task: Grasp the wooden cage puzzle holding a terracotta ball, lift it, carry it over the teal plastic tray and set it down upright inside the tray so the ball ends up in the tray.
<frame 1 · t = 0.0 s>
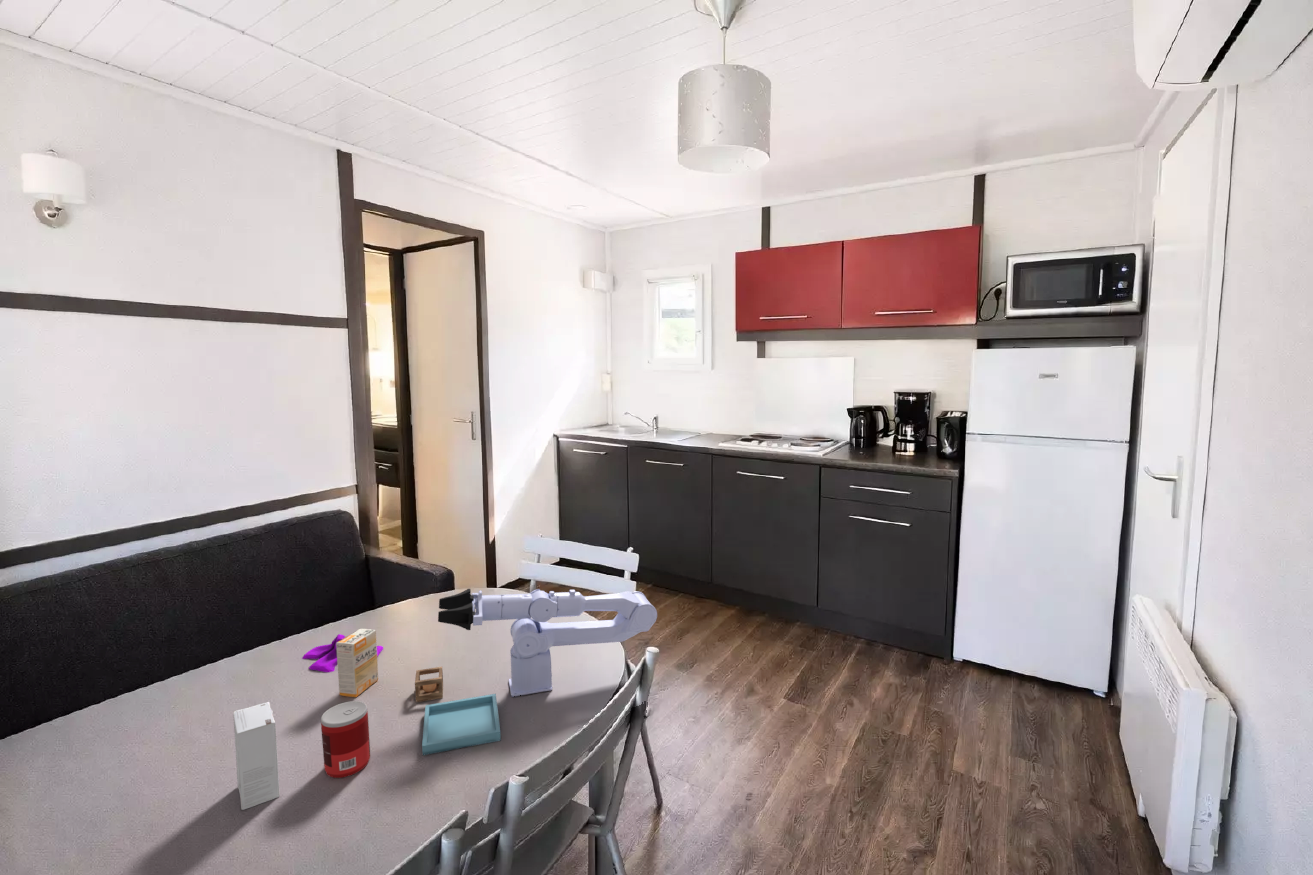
hand: (438, 609, 136), 22 cm above the table, tool horizontal, fingers open, 7 cm apart
wooden cage puzzle: (429, 694, 141), on the table, touching ball
tray: (461, 726, 128), on the table
cloth: (342, 655, 161), on the table
canned food: (348, 766, 116), on the table
supplement box: (359, 688, 144), on the table
ball: (429, 685, 141), point 2 cm above the table, touching wooden cage puzzle
skincare box: (259, 792, 109), on the table
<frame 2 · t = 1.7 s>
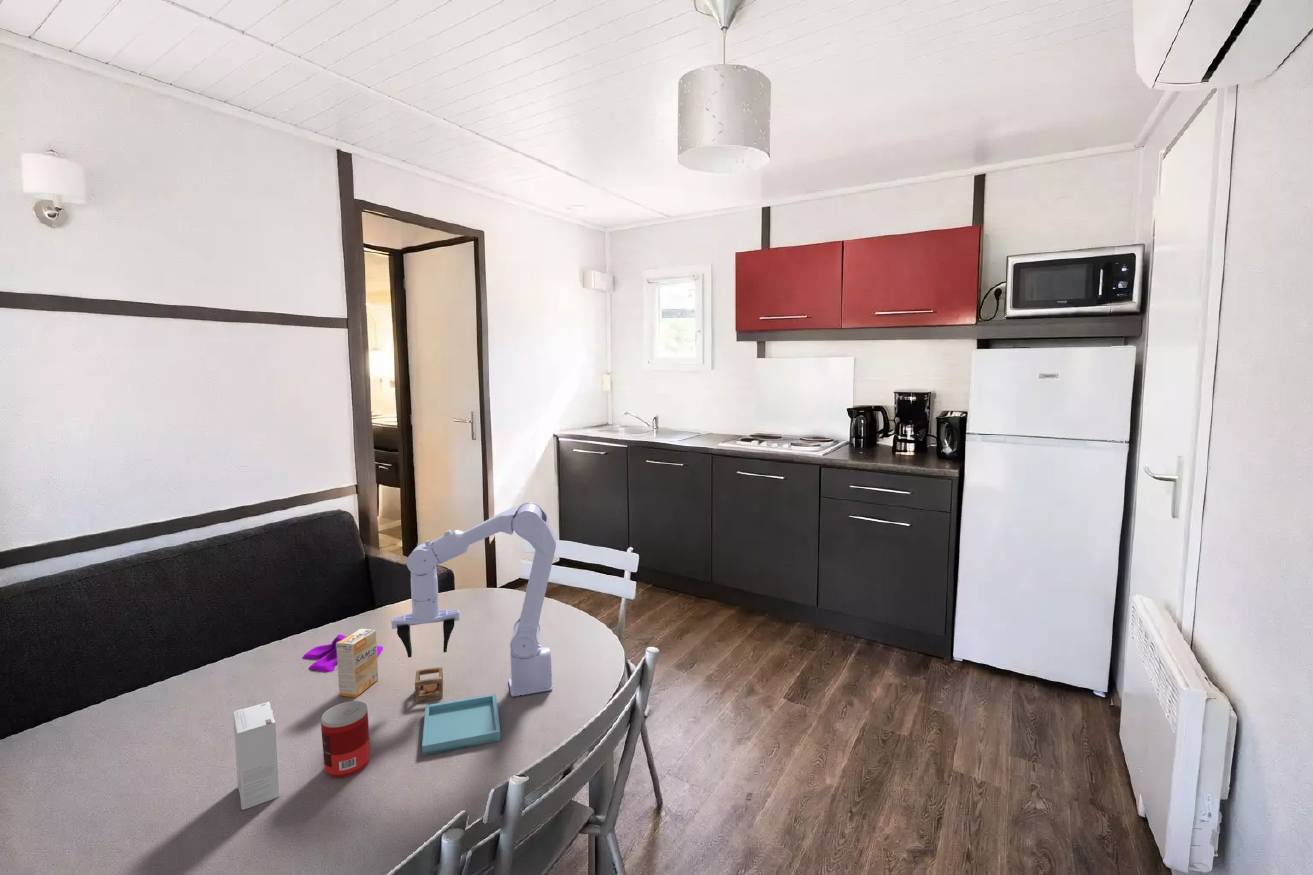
hand: (427, 652, 140), 10 cm above the table, tool pointing down, fingers open, 7 cm apart
ball: (430, 686, 141), point 2 cm above the table, tilted 8°, touching wooden cage puzzle
everything else where it was.
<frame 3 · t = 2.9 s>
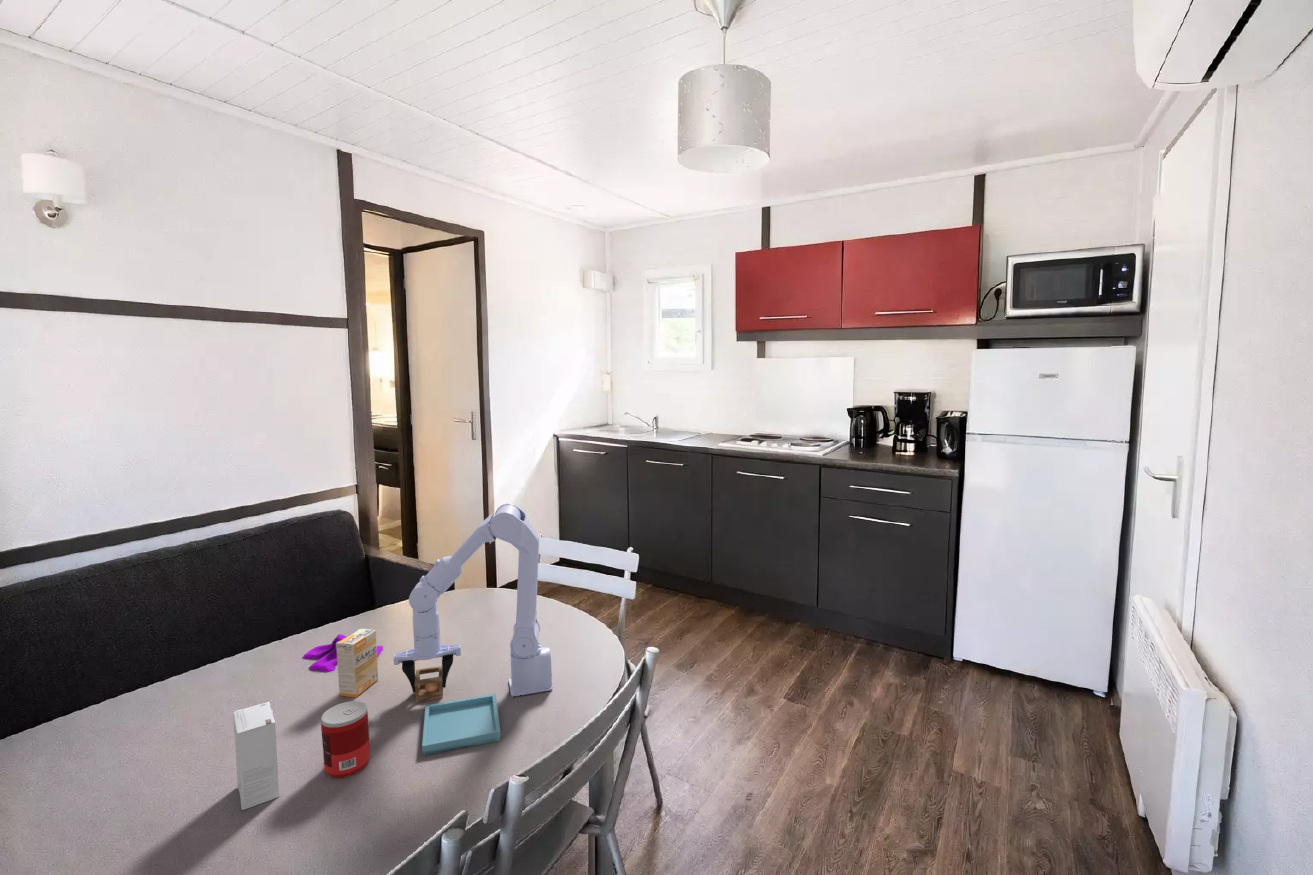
hand: (429, 687, 141), 1 cm above the table, tool pointing down, fingers closed on wooden cage puzzle, 6 cm apart
wooden cage puzzle: (429, 693, 141), on the table, touching ball, gripper
ball: (431, 686, 140), point 2 cm above the table, tilted 36°, touching wooden cage puzzle
everything else where it was.
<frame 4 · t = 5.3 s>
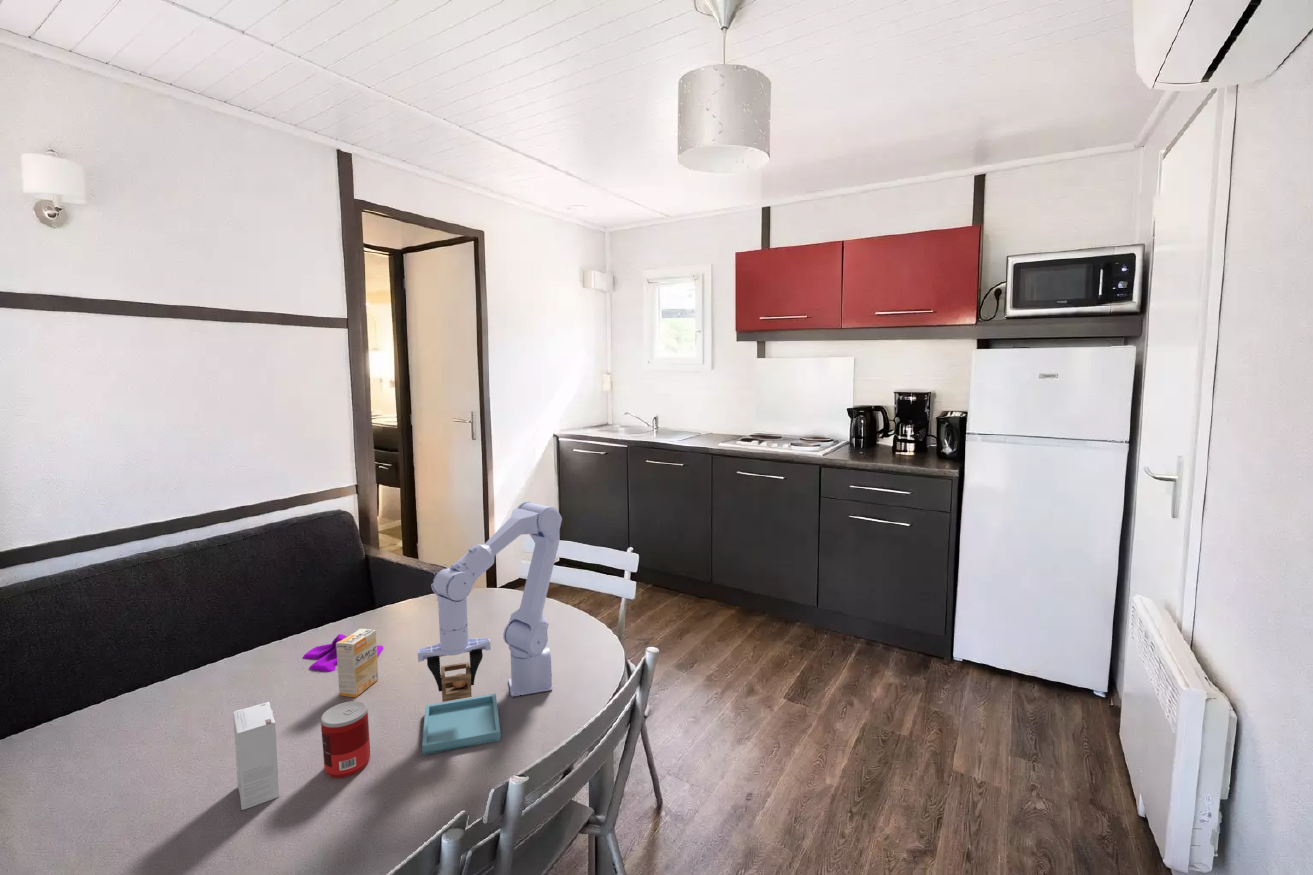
hand: (456, 685, 129), 8 cm above the table, tool pointing down, fingers closed on wooden cage puzzle, 6 cm apart
wooden cage puzzle: (456, 692, 129), point 7 cm above the table, touching ball, gripper
ball: (459, 680, 130), point 9 cm above the table, tilted 40°, touching wooden cage puzzle
everything else where it was.
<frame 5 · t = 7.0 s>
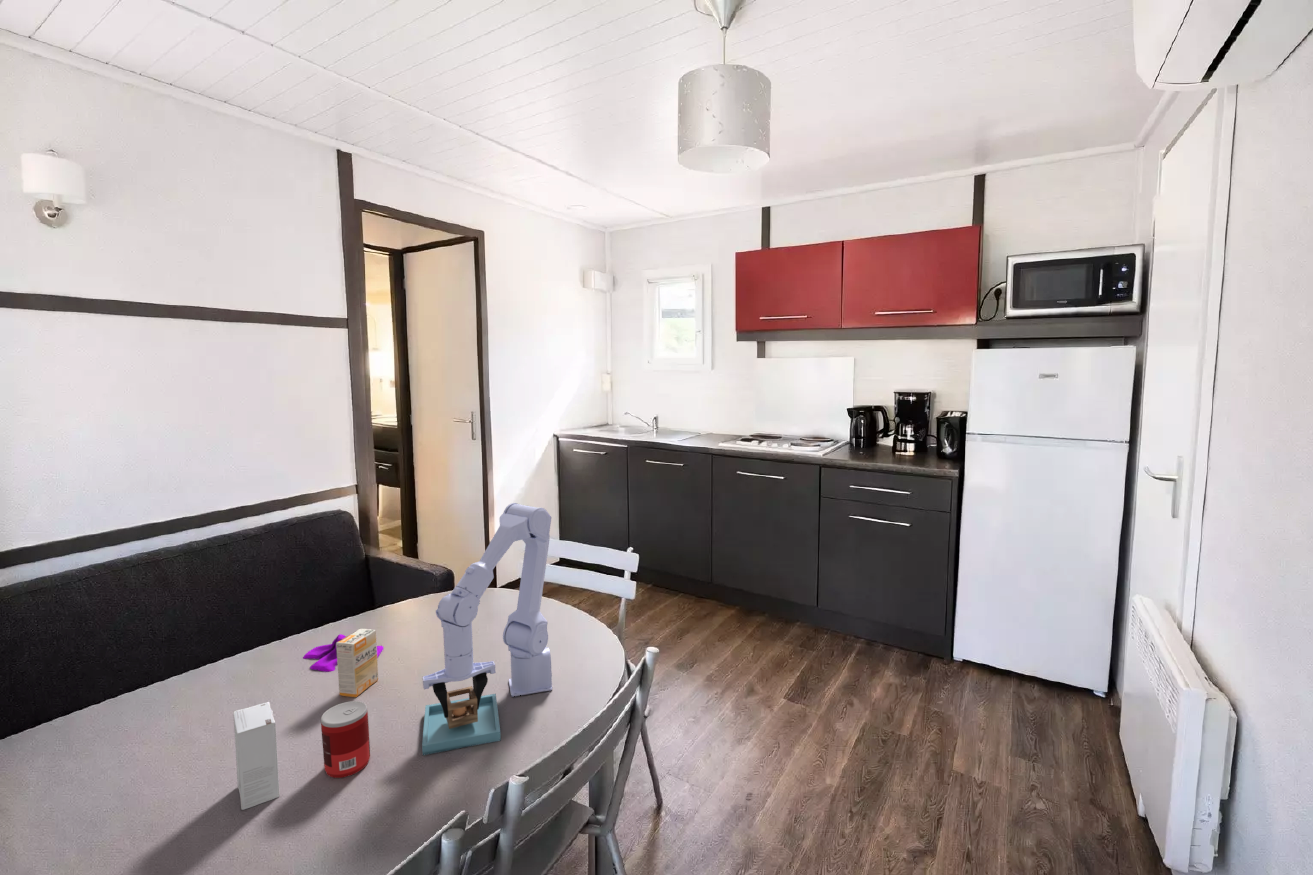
hand: (461, 711, 128), 3 cm above the table, tool pointing down, fingers closed on wooden cage puzzle, 5 cm apart
wooden cage puzzle: (461, 717, 128), point 2 cm above the table, touching ball, gripper
ball: (459, 709, 128), point 4 cm above the table, tilted 12°, touching wooden cage puzzle
everything else where it was.
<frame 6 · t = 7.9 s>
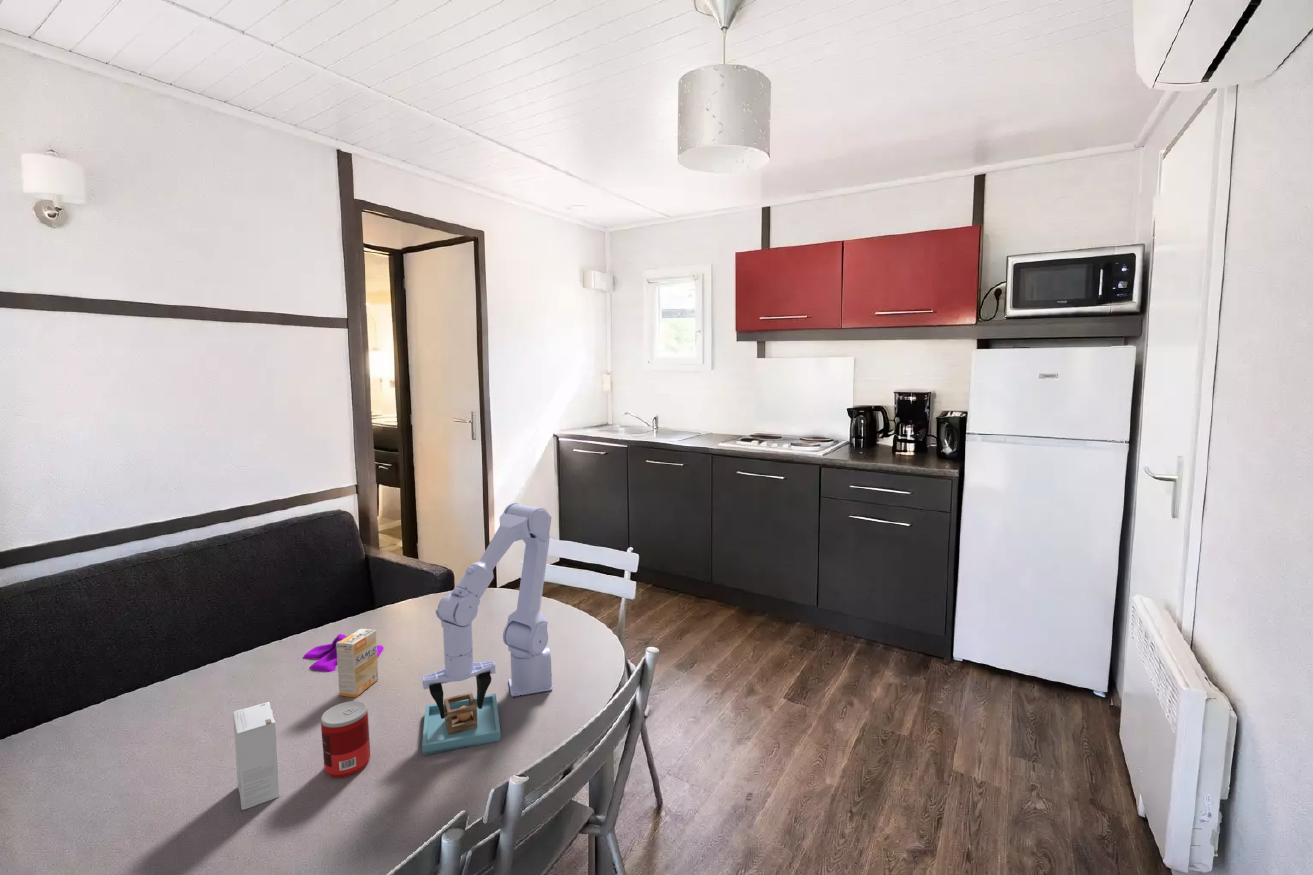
hand: (461, 711, 128), 4 cm above the table, tool pointing down, fingers open, 7 cm apart
wooden cage puzzle: (461, 724, 128), point 1 cm above the table, touching ball, tray
ball: (463, 713, 128), point 3 cm above the table, tilted 30°, touching wooden cage puzzle
everything else where it was.
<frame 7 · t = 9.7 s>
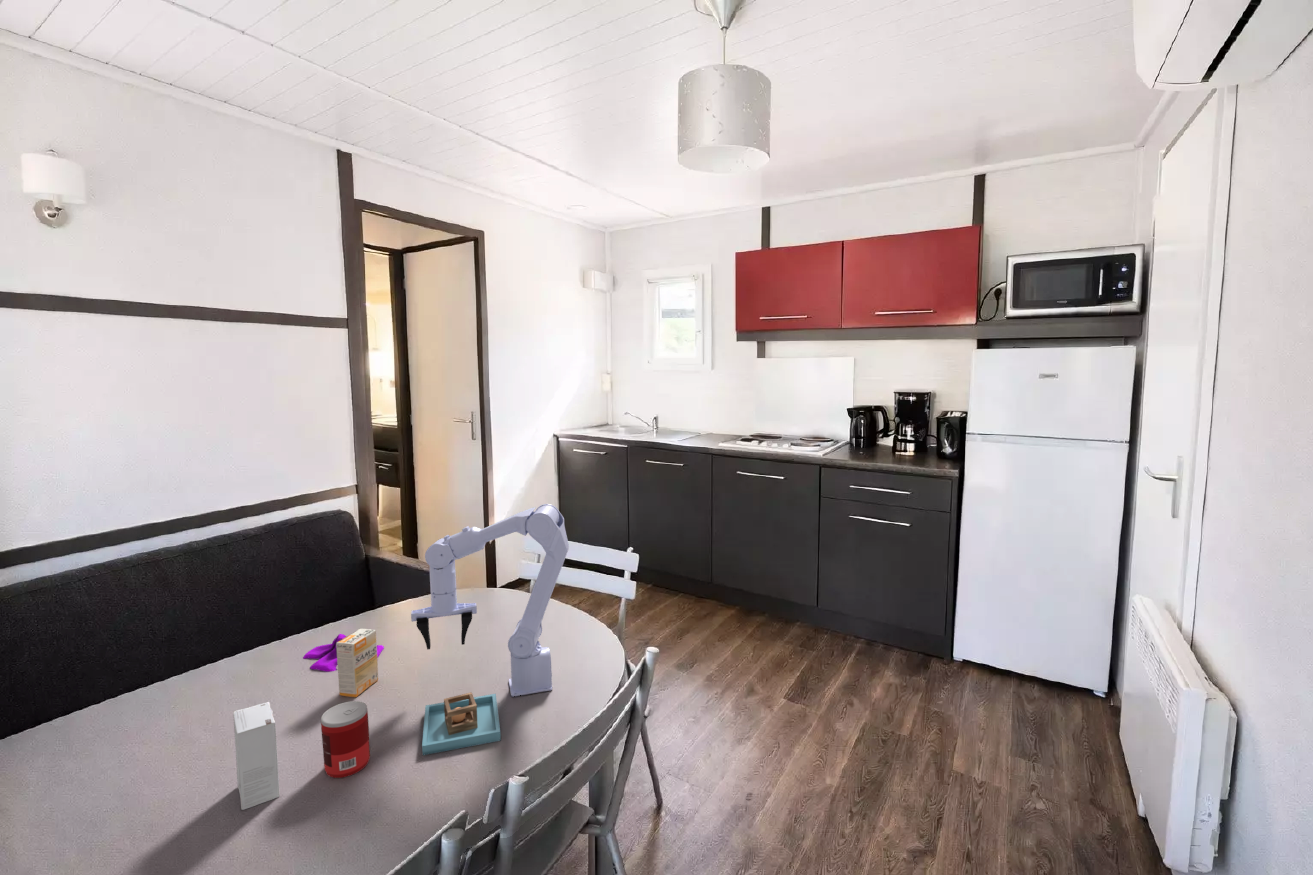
hand: (446, 645, 143), 10 cm above the table, tool pointing down, fingers open, 7 cm apart
ball: (458, 714, 128), point 3 cm above the table, tilted 18°, touching wooden cage puzzle
everything else where it was.
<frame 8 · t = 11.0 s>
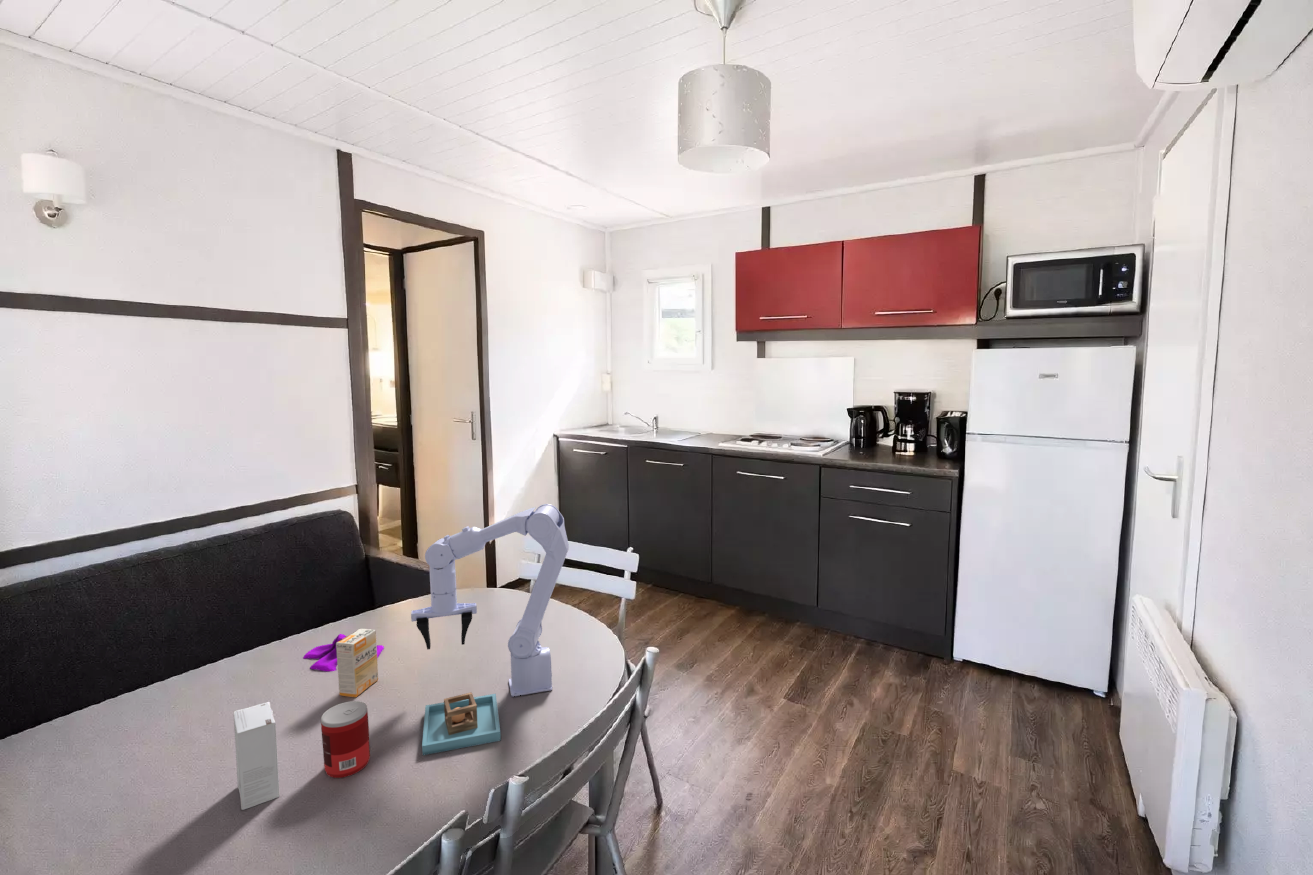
hand: (446, 645, 143), 10 cm above the table, tool pointing down, fingers open, 7 cm apart
nothing on the table moved.
at the end: ball inside the target area on the tray (0.8 cm from its centre), point 2.7 cm above the tray's base; wooden cage puzzle inside the target area on the tray (0.2 cm from its centre), point 0.6 cm above the tray's base; wooden cage puzzle tilted 0° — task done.
